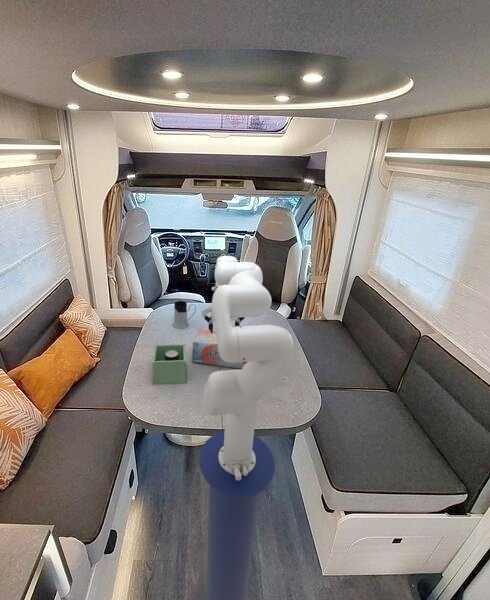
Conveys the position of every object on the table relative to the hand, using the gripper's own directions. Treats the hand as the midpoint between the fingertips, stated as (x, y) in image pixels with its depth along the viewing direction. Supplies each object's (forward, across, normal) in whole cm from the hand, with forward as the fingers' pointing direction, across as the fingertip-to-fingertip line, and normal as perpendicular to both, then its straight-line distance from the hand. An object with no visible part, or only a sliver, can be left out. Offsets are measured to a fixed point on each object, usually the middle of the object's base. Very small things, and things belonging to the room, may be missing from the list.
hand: (223, 331), depth 121 cm
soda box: (+34, +10, +30) cm, 47 cm away
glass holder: (+34, -14, +72) cm, 81 cm away
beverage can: (+34, -21, +19) cm, 44 cm away
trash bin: (+34, -22, +21) cm, 46 cm away
